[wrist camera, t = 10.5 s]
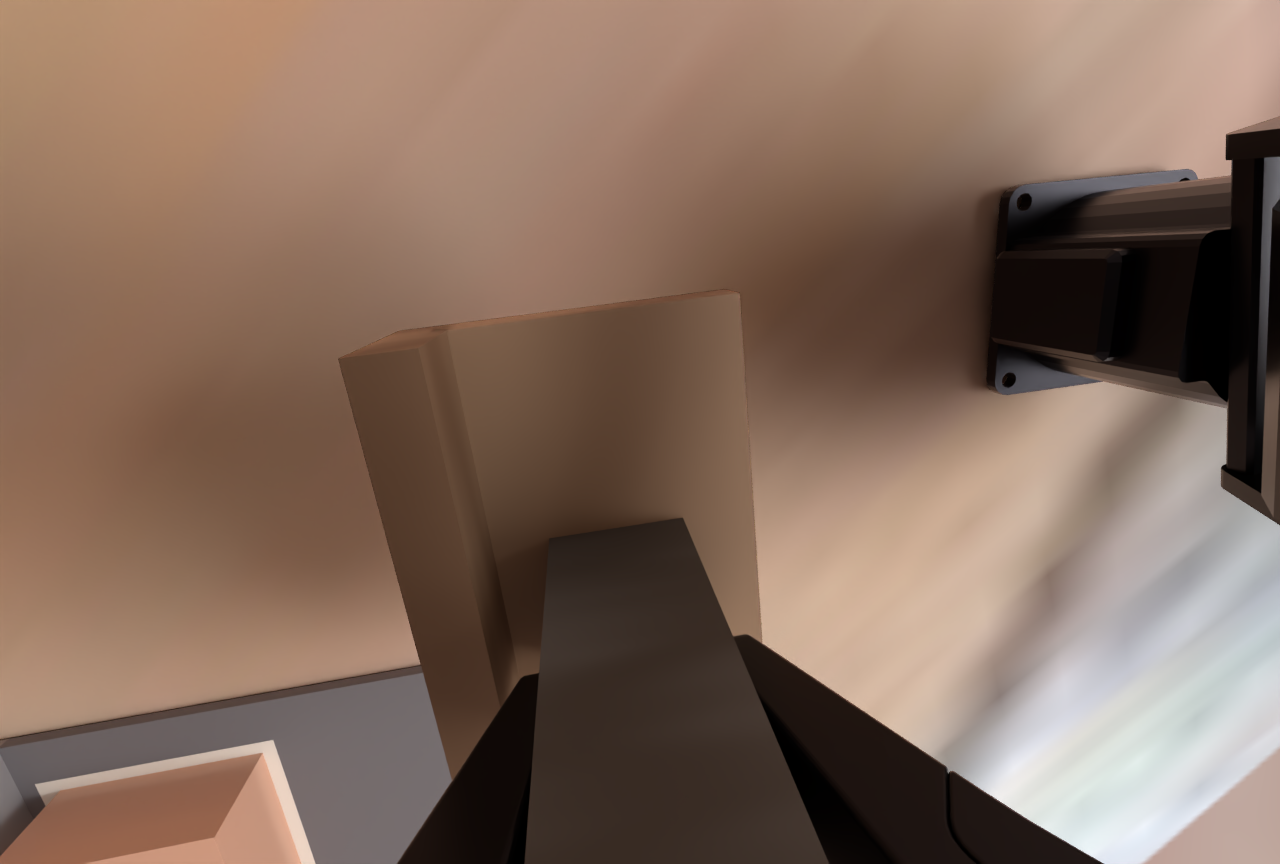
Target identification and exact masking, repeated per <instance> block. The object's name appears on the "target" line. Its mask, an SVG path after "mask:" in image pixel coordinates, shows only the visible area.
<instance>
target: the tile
mask: <svg viewBox="0 0 1280 864" xmlns="http://www.w3.org/2000/svg"><path fill="white" fill-rule="evenodd" d="M0 864H301V861H300V858H299V855H298V852H297V849H296V846H295V844H294V841H293V838H292V835H291V832H290V829H289V826H288V823H287V821H286V818H285V815H284V812H283V809H282V806H281V803H280V801H279V798H278V795H277V792H276V789H275V786H274V783H273V781H272V778H271V775H270V772H269V769H268V766H267V763H266V760H265V758H264V755H263V753H258V754H253V755H248V756H242V757H237V758H232V759H226V760H221V761H216V762H210V763H205V764H199V765H194V766H189V767H183V768H178V769H173V770H167V771H162V772H157V773H151V774H146V775H141V776H135V777H130V778H124V779H119V780H114V781H108V782H103V783H98V784H92V785H87V786H82V787H76V788H71V789H66V790H60V791H59V792H58V793H57V794H56V796H55V797H54V798H53V799H52V800H51V801H50V802H49V803H48V804H47V805H46V807H45V808H44V809H43V810H42V811H41V812H40V813H39V814H38V815H37V816H36V818H35V819H34V820H33V821H32V822H31V823H30V824H29V825H28V826H27V827H26V828H25V830H24V831H23V832H22V833H21V834H20V835H19V836H18V837H17V838H16V839H15V841H14V842H13V843H12V844H11V845H10V846H9V847H8V848H7V849H6V850H5V852H4V853H3V854H2V855H1V856H0Z"/></svg>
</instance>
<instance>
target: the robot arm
mask: <svg viewBox="0 0 1280 864" xmlns="http://www.w3.org/2000/svg"><path fill="white" fill-rule="evenodd" d="M1226 160H1232V172H1231V176H1223V177H1214V178H1206V179H1198V178H1197V175H1196V173H1195V172H1194V171H1192V170H1189V169H1182V170H1172V171H1161V172H1151V173H1140V174H1130V175H1119V176H1109V177H1098V178H1088V179H1077V180H1067V181H1056V182H1046V183H1035V184H1025V185H1019V186H1014V187H1011V188H1009V189H1008V190H1007V191H1006V192H1005V193H1004V194H1003V196H1002V198H1001V201H1000V207H999V220H998V233H997V247H996V260H995V273H994V287H993V300H992V314H991V327H990V340H989V354H988V367H987V386H988V387H989V389H990V390H992V391H993V392H996V393H999V394H1002V395H1011V394H1018V393H1025V392H1032V391H1039V390H1046V389H1053V388H1060V387H1068V386H1075V385H1082V384H1089V383H1096V382H1103V381H1104V382H1109V383H1113V384H1118V385H1123V386H1127V387H1132V388H1136V389H1141V390H1145V391H1150V392H1155V393H1159V394H1164V395H1168V396H1173V397H1177V398H1182V399H1186V400H1191V401H1196V402H1200V403H1205V404H1209V405H1214V406H1218V407H1223V408H1227V459H1226V464H1225V465H1223V466H1222V467H1221V487H1222V488H1223V489H1225V490H1226V491H1228V492H1229V493H1231V494H1232V495H1234V496H1236V497H1237V498H1239V499H1240V500H1242V501H1243V502H1245V503H1246V504H1248V505H1249V506H1251V507H1253V508H1254V509H1256V510H1257V511H1259V512H1260V513H1262V514H1263V515H1265V516H1266V517H1268V518H1270V519H1271V520H1273V521H1274V522H1276V523H1277V524H1279V525H1280V116H1279V117H1276V118H1273V119H1270V120H1267V121H1264V122H1261V123H1258V124H1255V125H1252V126H1249V127H1246V128H1243V129H1240V130H1237V131H1234V132H1231V133H1228V134H1226ZM1019 196H1020V197H1021V199H1022V204H1021V207H1020V208H1019V209H1018V208H1017V200H1018V198H1019ZM1005 374H1007V379H1006V381H1005V382H1004V384H1002V379H1003V377H1004V376H1005ZM733 637H734V640H735V642H736V644H737V647H738V649H739V652H740V654H741V656H742V659H743V661H744V663H745V666H746V668H747V671H748V673H749V675H750V678H751V680H752V682H753V685H754V687H755V690H756V692H757V694H758V697H759V699H760V701H761V704H762V706H763V708H764V711H765V713H766V716H767V718H768V720H769V723H770V725H771V727H772V730H773V732H774V735H775V737H776V739H777V742H778V744H779V746H780V749H781V751H782V753H783V756H784V758H785V761H786V763H787V765H788V768H789V770H790V772H791V775H792V777H793V780H794V782H795V784H796V787H797V789H798V791H799V794H800V796H801V799H802V801H803V803H804V806H805V808H806V810H807V813H808V815H809V817H810V820H811V822H812V825H813V827H814V829H815V832H816V834H817V836H818V839H819V841H820V844H821V846H822V848H823V851H824V853H825V855H826V858H827V860H828V862H829V864H1104V863H1102V862H1100V861H1098V860H1096V859H1095V858H1093V857H1091V856H1089V855H1088V854H1086V853H1084V852H1082V851H1081V850H1079V849H1077V848H1076V847H1074V846H1072V845H1070V844H1069V843H1067V842H1065V841H1064V840H1062V839H1060V838H1059V837H1057V836H1055V835H1053V834H1052V833H1050V832H1048V831H1047V830H1045V829H1043V828H1041V827H1040V826H1038V825H1036V824H1035V823H1033V822H1031V821H1030V820H1028V819H1026V818H1025V817H1023V816H1022V815H1020V814H1019V813H1017V812H1015V811H1014V810H1012V809H1011V808H1009V807H1008V806H1006V805H1004V804H1003V803H1001V802H1000V801H998V800H997V799H995V798H994V797H992V796H990V795H989V794H987V793H986V792H984V791H983V790H981V789H980V788H978V787H977V786H975V785H974V784H972V783H971V782H969V781H968V780H966V779H965V778H963V777H962V776H960V775H959V774H957V773H956V772H954V771H950V772H949V774H948V768H947V767H946V766H945V765H943V764H942V763H940V762H939V761H937V760H936V759H934V758H933V757H931V756H930V755H928V754H927V753H925V752H924V751H922V750H921V749H919V748H918V747H916V746H915V745H913V744H912V743H910V742H909V741H907V740H906V739H904V738H903V737H901V736H900V735H898V734H897V733H895V732H894V731H892V730H891V729H889V728H888V727H886V726H885V725H883V724H882V723H880V722H879V721H877V720H876V719H875V718H873V717H872V716H870V715H869V714H867V713H866V712H864V711H863V710H861V709H860V708H858V707H857V706H855V705H854V704H852V703H851V702H849V701H848V700H846V699H845V698H843V697H842V696H840V695H839V694H837V693H836V692H834V691H833V690H831V689H830V688H828V687H827V686H825V685H824V684H822V683H821V682H819V681H818V680H816V679H815V678H813V677H812V676H810V675H809V674H807V673H806V672H804V671H803V670H801V669H800V668H798V667H797V666H795V665H794V664H792V663H791V662H789V661H788V660H786V659H785V658H783V657H782V656H780V655H779V654H777V653H776V652H774V651H773V650H771V649H770V648H768V647H767V646H765V645H764V644H762V643H761V642H759V641H758V640H756V639H755V638H753V637H752V636H750V635H748V634H743V635H737V636H733ZM538 680H539V673H536V674H531V675H526V676H523V677H522V678H520V680H519V681H518V683H517V684H516V686H515V687H514V689H513V690H512V692H511V693H510V695H509V696H508V698H507V699H506V701H505V702H504V704H503V705H502V707H501V708H500V710H499V711H498V713H497V714H496V716H495V717H494V719H493V720H492V722H491V723H490V725H489V726H488V728H487V729H486V731H485V732H484V734H483V735H482V737H481V738H480V740H479V741H478V743H477V744H476V746H475V747H474V749H473V750H472V752H471V753H470V754H469V756H468V757H467V759H466V760H465V762H464V763H463V765H462V766H461V768H460V769H459V771H458V772H457V774H456V775H455V777H454V778H453V780H452V781H451V783H450V784H449V786H448V787H447V789H446V790H445V792H444V793H443V795H442V796H441V798H440V799H439V801H438V802H437V804H436V805H435V807H434V808H433V810H432V811H431V813H430V814H429V816H428V817H427V819H426V820H425V822H424V823H423V825H422V826H421V828H420V829H419V831H418V832H417V834H416V835H415V837H414V838H413V840H412V841H411V843H410V844H409V846H408V847H407V849H406V850H405V852H404V853H403V855H402V856H401V858H400V859H399V861H398V862H397V864H525V852H526V838H527V825H528V812H529V799H530V786H531V773H532V759H533V746H534V733H535V720H536V707H537V693H538Z"/></svg>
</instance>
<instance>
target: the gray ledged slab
mask: <svg viewBox="0 0 1280 864" xmlns="http://www.w3.org/2000/svg"><path fill="white" fill-rule="evenodd" d="M258 753H263V755H264V758H265V760H266V763H267V766H268V769H269V772H270V775H271V778H272V781H273V783H274V786H275V789H276V792H277V795H278V798H279V801H280V803H281V806H282V809H283V812H284V815H285V818H286V821H287V823H288V826H289V829H290V832H291V835H292V838H293V841H294V844H295V846H296V849H297V852H298V855H299V858H300V861H301V864H397V862H398V861H399V859H400V858H401V856H402V855H403V853H404V852H405V850H406V849H407V847H408V846H409V844H410V843H411V841H412V840H413V838H414V837H415V835H416V834H417V832H418V831H419V829H420V828H421V826H422V825H423V823H424V822H425V820H426V819H427V817H428V816H429V814H430V813H431V811H432V810H433V808H434V807H435V805H436V804H437V802H438V801H439V799H440V798H441V796H442V795H443V793H444V792H445V790H446V789H447V787H448V786H449V784H450V783H451V781H452V779H451V775H450V771H449V768H448V764H447V760H446V756H445V753H444V749H443V745H442V742H441V738H440V734H439V730H438V727H437V723H436V719H435V716H434V712H433V708H432V705H431V701H430V697H429V693H428V690H427V686H426V682H425V679H424V675H423V671H422V667H421V666H417V667H411V668H406V669H400V670H394V671H389V672H383V673H377V674H372V675H366V676H360V677H355V678H349V679H343V680H338V681H332V682H326V683H321V684H315V685H309V686H304V687H298V688H293V689H287V690H281V691H276V692H270V693H264V694H259V695H253V696H247V697H242V698H236V699H230V700H225V701H219V702H213V703H208V704H202V705H196V706H191V707H185V708H179V709H174V710H168V711H163V712H157V713H151V714H146V715H140V716H134V717H129V718H123V719H117V720H112V721H106V722H100V723H95V724H89V725H83V726H78V727H72V728H66V729H61V730H55V731H49V732H44V733H38V734H33V735H27V736H21V737H16V738H10V739H4V740H0V856H1V855H2V854H3V853H4V852H5V850H6V849H7V848H8V847H9V846H10V845H11V844H12V843H13V842H14V841H15V839H16V838H17V837H18V836H19V835H20V834H21V833H22V832H23V831H24V830H25V828H26V827H27V826H28V825H29V824H30V823H31V822H32V821H33V820H34V819H35V818H36V816H37V815H38V814H39V813H40V812H41V811H42V810H43V809H44V808H45V807H46V805H47V804H48V803H49V802H50V801H51V800H52V799H53V798H54V797H55V796H56V794H57V793H58V792H59V791H60V790H66V789H71V788H76V787H82V786H87V785H92V784H98V783H103V782H108V781H114V780H119V779H124V778H130V777H135V776H141V775H146V774H151V773H157V772H162V771H167V770H173V769H178V768H183V767H189V766H194V765H199V764H205V763H210V762H216V761H221V760H226V759H232V758H237V757H242V756H248V755H253V754H258Z"/></svg>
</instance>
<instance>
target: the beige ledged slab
mask: <svg viewBox="0 0 1280 864" xmlns="http://www.w3.org/2000/svg"><path fill="white" fill-rule="evenodd" d="M338 360H339V364H340V367H341V371H342V375H343V378H344V382H345V386H346V389H347V393H348V397H349V401H350V404H351V408H352V412H353V415H354V419H355V423H356V427H357V430H358V434H359V438H360V441H361V445H362V449H363V453H364V456H365V460H366V464H367V467H368V471H369V475H370V478H371V482H372V486H373V490H374V493H375V497H376V501H377V504H378V508H379V512H380V516H381V519H382V523H383V527H384V530H385V534H386V538H387V541H388V545H389V549H390V553H391V556H392V560H393V564H394V567H395V571H396V575H397V579H398V582H399V586H400V590H401V593H402V597H403V601H404V604H405V608H406V612H407V616H408V619H409V623H410V627H411V630H412V634H413V638H414V642H415V645H416V649H417V653H418V656H419V660H420V664H421V667H422V671H423V675H424V679H425V682H426V686H427V690H428V693H429V697H430V701H431V705H432V708H433V712H434V716H435V719H436V723H437V727H438V730H439V734H440V738H441V742H442V745H443V749H444V753H445V756H446V760H447V764H448V768H449V771H450V775H451V779H452V780H453V778H454V777H455V775H456V774H457V772H458V771H459V769H460V768H461V766H462V765H463V763H464V762H465V760H466V759H467V757H468V756H469V754H470V753H471V752H472V750H473V749H474V747H475V746H476V744H477V743H478V741H479V740H480V738H481V737H482V735H483V734H484V732H485V731H486V729H487V728H488V726H489V725H490V723H491V722H492V720H493V719H494V717H495V716H496V714H497V713H498V711H499V710H500V708H501V707H502V705H503V704H504V702H505V701H506V699H507V698H508V696H509V695H510V693H511V692H512V690H513V689H514V687H515V686H516V684H517V683H518V681H519V680H520V678H522V677H523V676H526V675H531V674H536V673H539V680H538V693H537V707H536V720H535V733H534V746H533V759H532V773H531V786H530V799H529V812H528V825H527V838H526V852H525V864H829V862H828V860H827V858H826V855H825V853H824V851H823V848H822V846H821V844H820V841H819V839H818V836H817V834H816V832H815V829H814V827H813V825H812V822H811V820H810V817H809V815H808V813H807V810H806V808H805V806H804V803H803V801H802V799H801V796H800V794H799V791H798V789H797V787H796V784H795V782H794V780H793V777H792V775H791V772H790V770H789V768H788V765H787V763H786V761H785V758H784V756H783V753H782V751H781V749H780V746H779V744H778V742H777V739H776V737H775V735H774V732H773V730H772V727H771V725H770V723H769V720H768V718H767V716H766V713H765V711H764V708H763V706H762V704H761V701H760V699H759V697H758V694H757V692H756V690H755V687H754V685H753V682H752V680H751V678H750V675H749V673H748V671H747V668H746V666H745V663H744V661H743V659H742V656H741V654H740V652H739V649H738V647H737V644H736V642H735V640H734V637H733V636H737V635H743V634H748V635H750V636H752V637H753V638H755V639H756V640H758V641H759V642H761V643H762V630H761V614H760V599H759V583H758V568H757V552H756V537H755V521H754V505H753V490H752V474H751V459H750V443H749V427H748V412H747V396H746V381H745V365H744V350H743V334H742V318H741V303H740V293H739V292H734V291H730V290H726V289H722V290H714V291H707V292H699V293H691V294H683V295H675V296H668V297H660V298H652V299H644V300H636V301H629V302H621V303H613V304H605V305H597V306H590V307H582V308H574V309H566V310H558V311H551V312H543V313H535V314H527V315H519V316H512V317H504V318H496V319H488V320H480V321H472V322H465V323H457V324H449V325H441V326H433V327H426V328H418V329H410V330H402V331H398V332H395V333H393V334H391V335H389V336H387V337H385V338H382V339H380V340H378V341H376V342H374V343H371V344H369V345H367V346H365V347H363V348H360V349H358V350H356V351H354V352H352V353H350V354H347V355H345V356H343V357H341V358H339V359H338Z"/></svg>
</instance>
